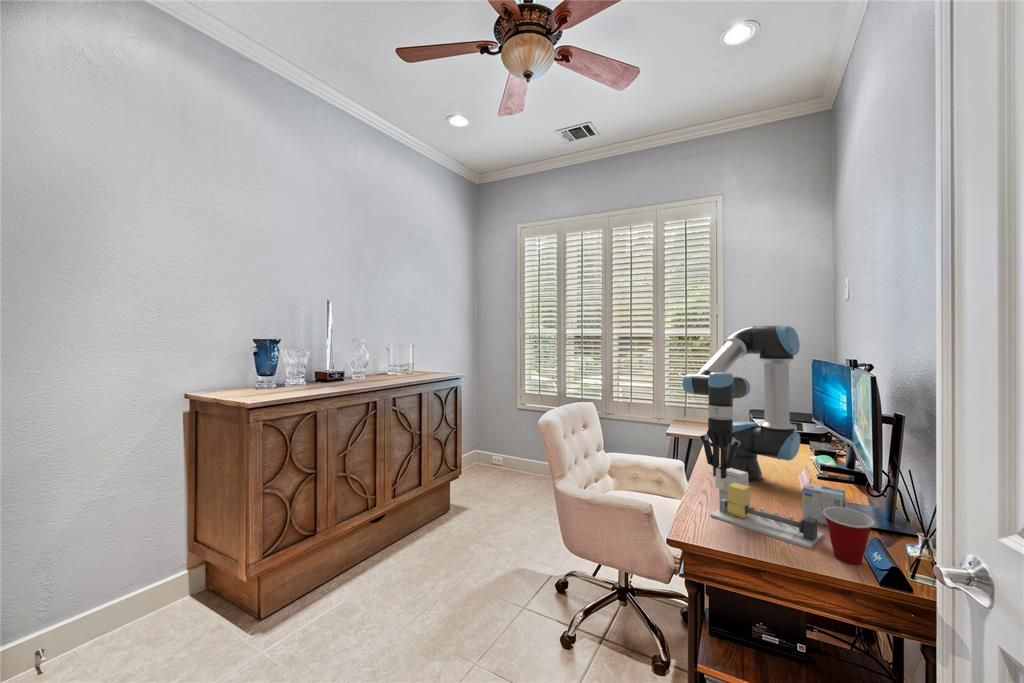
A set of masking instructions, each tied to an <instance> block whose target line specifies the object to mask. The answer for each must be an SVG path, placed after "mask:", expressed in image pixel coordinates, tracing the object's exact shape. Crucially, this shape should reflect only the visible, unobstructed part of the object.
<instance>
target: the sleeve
mask: <svg viewBox="0 0 1024 683" xmlns="http://www.w3.org/2000/svg"><path fill="white" fill-rule="evenodd" d="M750 502H751V487H750V486H745V485H741V484H738V483H732V484H730V485H728V514H731V515H734V516H737V517H741V518H745V517H747V516H748V515H750V513H747V512H745V507H748V508H750V504H751V503H750Z"/></svg>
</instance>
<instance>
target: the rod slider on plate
mask: <svg viewBox="0 0 1024 683" xmlns="http://www.w3.org/2000/svg"><path fill="white" fill-rule="evenodd" d="M745 512H747V513H750V515H748V516H747V517H745V518H741V517H737V516H734V515H731V514H728V499H725V498H723V499H721V500H719V508H718V509H717V510H715V511H713V512H711V513H710V517H711V516H712V517H711V518H714V519H717V518H718V519H717V520H721V521H724V522H727V523H729V524H732V525H736V526H739V527H742V528H744V529H748V530H751V531H755V532H757V533H761V534H763V535H766V536H769V537H773V538H775V539H779V540H782V541H785V542H787V543H791V544H793V545H798V546H800V547H803V548H806V549H809V550H812V549H813V548H814V546H816V545H817V544H818V543H819V542H820V540H822V538H823V537H824V533H822V532H819V531H818V523H817V519H814V518H810V517H807V518H806V519H803V518H800V520H799V521H797V520H794V516H793V515H791V514H790V515H788V518H786V517H782V516H779V511H777V510H775V511H774V512H773V514H772V513H768V512H765V507H761V508H760V509H759V510H758V509H755V508H752V504H751V503H750V508H748V507H745Z"/></svg>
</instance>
